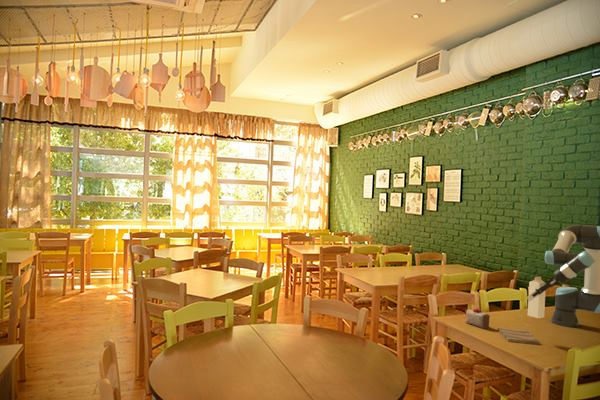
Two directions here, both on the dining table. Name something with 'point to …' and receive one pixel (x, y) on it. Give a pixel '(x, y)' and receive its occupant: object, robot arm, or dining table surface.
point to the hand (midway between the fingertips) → (529, 298)
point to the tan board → (518, 336)
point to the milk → (536, 299)
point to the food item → (477, 318)
